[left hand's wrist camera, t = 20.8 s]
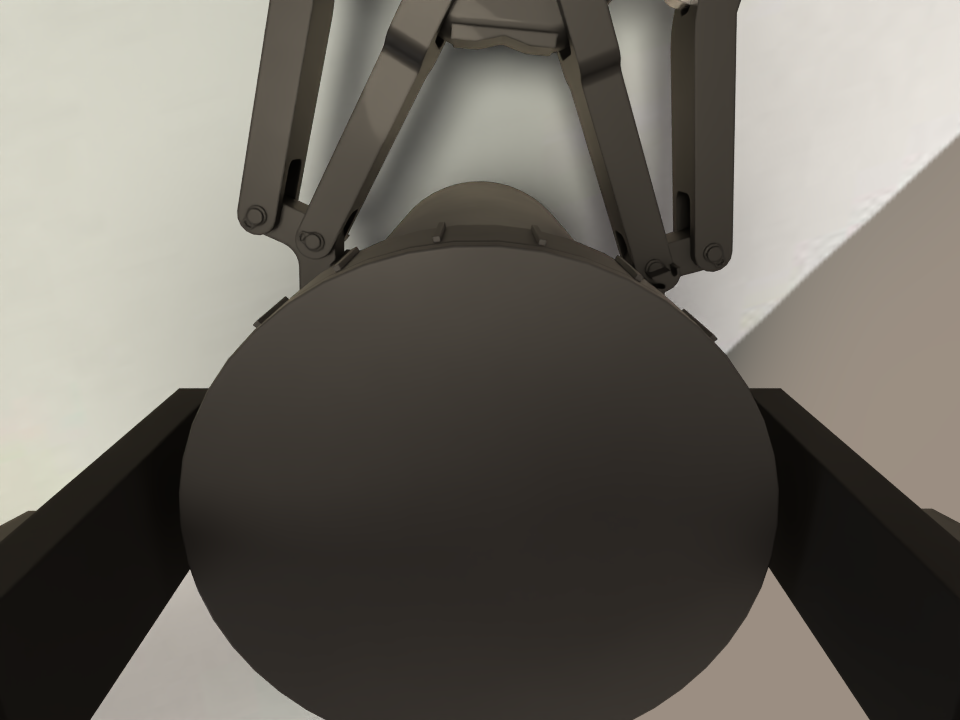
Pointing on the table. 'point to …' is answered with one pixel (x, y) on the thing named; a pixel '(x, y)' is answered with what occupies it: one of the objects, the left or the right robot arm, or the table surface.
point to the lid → (478, 486)
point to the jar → (479, 209)
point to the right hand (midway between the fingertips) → (469, 436)
